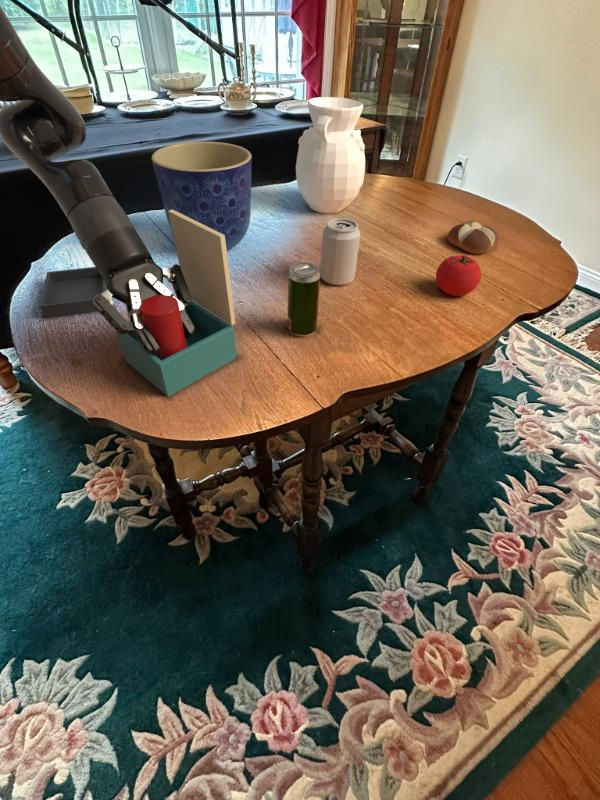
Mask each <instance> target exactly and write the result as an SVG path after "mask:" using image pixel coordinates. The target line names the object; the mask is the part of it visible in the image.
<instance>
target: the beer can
mask: <svg viewBox="0 0 600 800" xmlns="http://www.w3.org/2000/svg"><path fill="white" fill-rule="evenodd" d="M320 285H321V276H320V268H319V266H318V265H317V264H316V263H315V264H314V263H312V262H309V261H306V262H305V261H299V262H295V263H293V264H291V265H290V266H289V271H288V272H287V324H286V325H287V330H288V331H289V333H290V334H291V335H293V336H295V337H298V338H306V337H310V336H312V335H314V334H315V332H316V331H317V329H318V317H319V301H320V300H319V299H320Z"/></svg>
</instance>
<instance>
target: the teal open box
mask: <svg viewBox="0 0 600 800" xmlns="http://www.w3.org/2000/svg"><path fill="white" fill-rule="evenodd" d="M185 312H186V313H187V315H188V317H189V318H190V320H191V322H192V323H193V325H194V330H193V331H194V334H193V335H192V336H191V337H189V338H186V337H185V339H186V344H187V348H185V349H183V350H181V351H179V352H177V353H175V354H173V355H172V356H170V357H168V358H166V359H164V360H162V361H161V360H160V359H159V358H158V357H156V356H155V355H153V354H152V353H151V352H149V353H148V352H147V351H145V349H144V348H143V346H142V344H141V343H140V341H139V339H138V338H137V336H136V335H135V334H133V333H125V334H124V335H121V334H119V333H118V332H117V331H116V330H115V332H116V335H117V337H118V341H119V344H120V346H121V347H120V348H121V350H122V353H123V356H124V360H125V362H126V363H128V364H129V365H130V366H131V367H132V368H134V369H135V370H136V371H137V372H138V373H140V375H141V376H143V377H144V378H145V379H146V380H148V381H149V382H150V383H151V384H152V385H153V386H154V387H156V388H157V389H158V390H159V391H161V392H162V393H163V394H164V395H165V396H166V397H170V396H172V395H174V394H175V393H177V392H180V391H181V390H183V389H185V388H186V387H188V386H189V385H191V384H193V383H195V382H197V381H198V380H200V379H202V378H204V377H205V376H207V375H209V374H210V373H213V372H214V371H216V370H217V369H220V368H221V367H223V366H225V365H226V364H228V363H230V362H232V361H234V360H235V359H237V347H236V338H235V328H234V325H230V324H229V323H227V322H226V321H224V320H222V319H221V318H219V317H218V316H216V315H215V314H213V313H211V312H210V311H208V310H207V309H205V308H204V307H202V306H201V305H199V304H197V303H196V302H194V301H193V300H191V302H190V303H189V304H188V305H187V306H186V307H185ZM143 323H144V321H143ZM144 327H145V324H144Z"/></svg>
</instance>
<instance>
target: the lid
mask: <svg viewBox="0 0 600 800" xmlns="http://www.w3.org/2000/svg"><path fill="white" fill-rule="evenodd" d="M168 213H169V218H170V223H171V227H172V230H171V232H172V236H173V237H172V238H173V242H174V247H175V251H176V256H177V261H178V265H179V266H180V267H181V270H182V273H183V276H184V278H185V281H186V284H187V286H188V289H189V292H190V295H191V297H192V301H194V302H195V303H197V304H198V305H200V306H202V307H203V308H205V309H206V310H208V311H209V312H211V313H213V314H214V315H216V316H217V317H219V318H220V319H222V320H223V321H225V322H227V323H228V324H230V325H231V326H234V325H236V316H235V308H234V300H233V292H232V284H231V276H230V267H229V259H228V252H227V250H228V249H227V250H226V242H225V235H223V234H221V233H219V232H217V231H215V230H213V229H211V228H209V227H207V226H205V225H203V224H201V223H199V222H197V221H195V220H193V219H191V218H189V217H187V216H185V215H183V214H181V213H179V212H177V211H175V210H169V211H168ZM171 227H170V228H171Z"/></svg>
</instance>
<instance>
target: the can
mask: <svg viewBox="0 0 600 800" xmlns="http://www.w3.org/2000/svg"><path fill="white" fill-rule="evenodd" d="M321 238H322V239H321V252H320V253H321V254H320V268H319V273H320V279H322V280H323V281H324V282H325V283H326V284H328V285H331V286H338V287H341V286H346V285H348V284H350V283H352V282H353V281H354V280H355V277H356V270H357V264H358V263H357V262H358V254H359V249H360V247H359V246H360V238H361V231H360V229H359V224H358V223H357V222H356V220H353V219H349V218H345V217H337V218H332V219H329V220H328V221H327V222H326V226H325V227H323V230H322V237H321Z"/></svg>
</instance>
